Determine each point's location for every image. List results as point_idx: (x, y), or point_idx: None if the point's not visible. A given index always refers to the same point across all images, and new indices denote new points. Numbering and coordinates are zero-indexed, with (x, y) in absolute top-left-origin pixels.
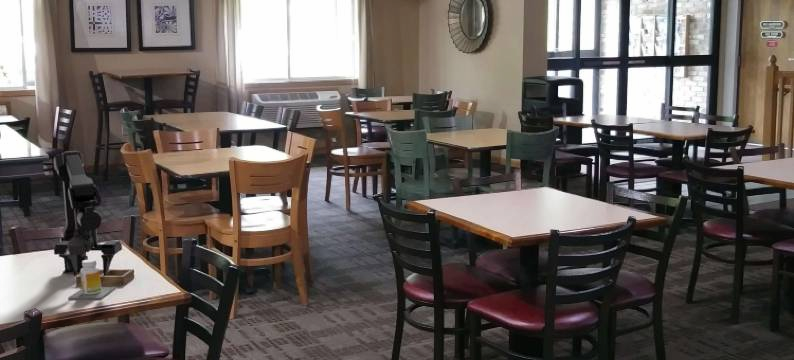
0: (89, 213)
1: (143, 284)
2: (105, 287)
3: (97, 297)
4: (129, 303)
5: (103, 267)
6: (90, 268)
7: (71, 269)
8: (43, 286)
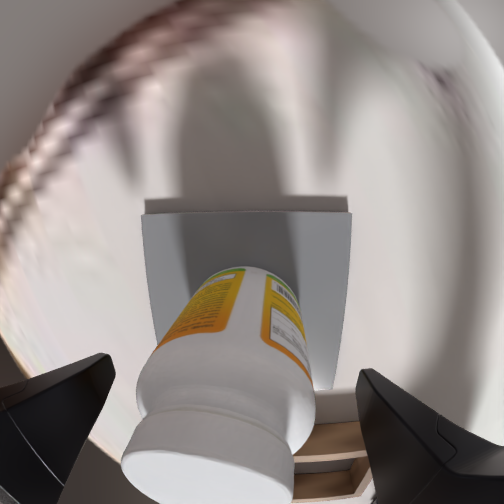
0: None
1: (104, 408)
2: None
3: (160, 214)
4: (26, 174)
5: (56, 380)
6: (171, 396)
7: (409, 396)
8: (485, 382)
